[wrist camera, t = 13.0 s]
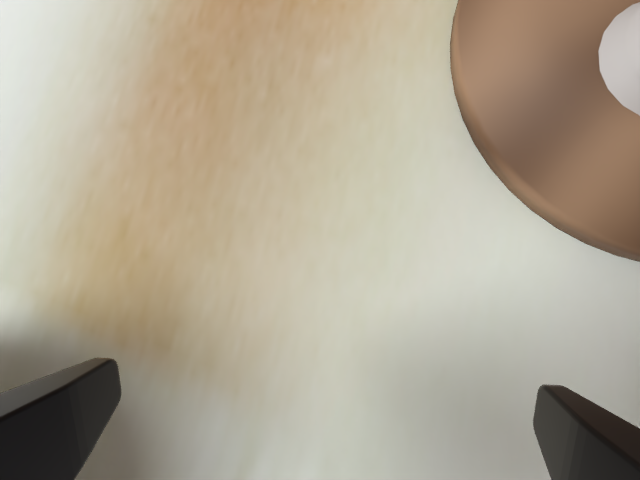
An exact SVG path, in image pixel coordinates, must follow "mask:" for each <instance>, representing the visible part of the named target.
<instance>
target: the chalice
mask: <svg viewBox="0 0 640 480" xmlns="http://www.w3.org/2000/svg"><path fill="white" fill-rule="evenodd" d="M598 53H599V67H600V72H601V74H602V77H603V79H604V81H605V84H606V86H607V88H608V90H609V91H610V92H611V93H612V94H613V95H614V96H615V98H616V99H617V100H618V101H619V102H620V103H621V104H622V105H623V106H624V107H626V108H628V109H629V110H631V111H633V112H634V113H636V114H638V115H639V116H640V2H639V3H636V4H633V5H631V6H630V7H628V8H627V9H625V10H624V11H623V12H621V13H620V14H618V15H617V16H616V17H615V18H614V19H613V21H612V22H611V23H610V25H609V26H608V27H607V29H606V30H605V31H604V34H603V37H602V40H601V44H600V47H599V51H598Z"/></svg>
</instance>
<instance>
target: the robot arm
mask: <svg viewBox="0 0 640 480" xmlns="http://www.w3.org/2000/svg"><path fill="white" fill-rule="evenodd" d="M120 398H121V385H120V378H119V371H118V365H117V362H116V361H115V360H114V359H110V358H94V359H91V360H88V361H86V362H83V363H80V364H78V365H75V366H72V367H70V368H67V369H64V370H62V371H59V372H56V373H54V374H51V375H48V376H46V377H43V378H40V379H38V380H35V381H32V382H30V383H27V384H24V385H21V386H19V387H16V388H13V389H11V390H8V391H5V392H3V393H0V480H74V479H75V478H76V476H77V475H78V473H79V472H80V470H81V468H82V467H83V465H84V464H85V462H86V460H87V459H88V457H89V455H90V453H91V452H92V450H93V448H94V446H95V444H96V443H97V441H98V439H99V437H100V436H101V434H102V432H103V430H104V428H105V427H106V425H107V423H108V421H109V419H110V418H111V416H112V414H113V412H114V411H115V409H116V407H117V405H118V403H119V401H120ZM533 425H534V431H535V434H536V437H537V440H538V443H539V446H540V449H541V452H542V454H543V457H544V460H545V463H546V466H547V469H548V472H549V474H550V477H551V480H640V429H639V428H638V427H636V426H634V425H632V424H630V423H629V422H627V421H625V420H623V419H622V418H620V417H618V416H616V415H614V414H613V413H611V412H609V411H607V410H605V409H604V408H602V407H600V406H598V405H597V404H595V403H593V402H591V401H589V400H588V399H586V398H584V397H582V396H580V395H579V394H577V393H575V392H573V391H572V390H570V389H568V388H566V387H564V386H560V385H542V386H540V388H539V390H538V393H537V400H536V406H535V412H534V419H533Z"/></svg>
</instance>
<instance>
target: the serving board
mask: <svg viewBox="0 0 640 480" xmlns="http://www.w3.org/2000/svg"><path fill="white" fill-rule="evenodd" d="M639 2H640V0H458V4H457V7H456V11H455V14H454V18H453V25H452V33H451V41H450V61H451V74H452V80H453V86H454V92H455V96H456V99H457V102H458V106H459V109H460V112H461V115H462V118H463V121H464V123H465V125H466V127H467V129H468V131H469V133H470V135H471V138H472V140H473V142H474V144H475V145H476V147H477V149H478V150H479V152H480V153H481V155H482V156H483V158H484V159H485V161H486V162H487V164H488V165H489V167H490V168H491V169H492V171H493V172H494V173H495V174H496V175H497V176H498V178H499V179H500V180H501V181H502V182H503V183H504V185H505V186H506V187H507V188H508V189H509V190H510V191H511V192H512V193H513V194H514V195H515V196H516V197H517V198H518V199H520V200H521V201H522V202H523V203H524V204H525V205H526V206H527V207H528V208H530V209H531V210H532V211H533V212H535V213H536V214H537V215H539V216H540V217H542V218H543V219H545V220H546V221H547V222H549V223H550V224H552V225H553V226H555V227H556V228H558V229H559V230H561V231H563V232H565V233H567V234H569V235H571V236H572V237H574V238H576V239H578V240H580V241H582V242H584V243H586V244H588V245H591V246H593V247H596V248H598V249H601V250H603V251H606V252H608V253H611V254H613V255H616V256H620V257H624V258H628V259H632V260H635V261H639V262H640V116H639V115H638V114H636V113H634V112H633V111H631V110H629V109H628V108H626V107H624V106H623V105H622V104H621V103H620V102H619V101H618V100H617V99H616V98H615V96H614V95H613V94H612V93H611V92H610V91H609V90H608V88H607V86H606V84H605V81H604V79H603V77H602V74H601V72H600V67H599V53H598V51H599V47H600V44H601V40H602V37H603V34H604V31H605V30H606V29H607V27H608V26H609V25H610V23H611V22H612V21H613V19H614V18H615V17H616V16H617V15H618V14H620V13H621V12H623V11H624V10H625V9H627V8H628V7H630V6H631V5H633V4H636V3H639Z"/></svg>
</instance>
